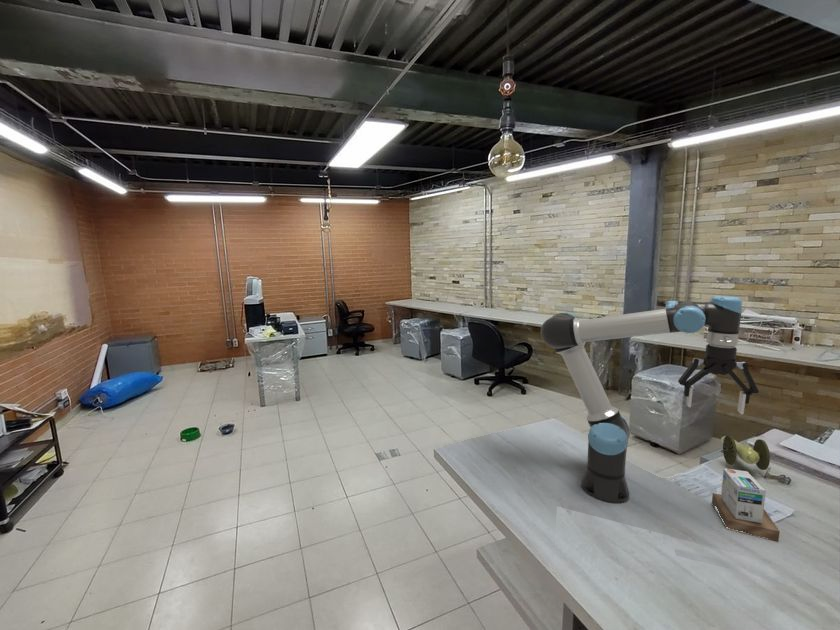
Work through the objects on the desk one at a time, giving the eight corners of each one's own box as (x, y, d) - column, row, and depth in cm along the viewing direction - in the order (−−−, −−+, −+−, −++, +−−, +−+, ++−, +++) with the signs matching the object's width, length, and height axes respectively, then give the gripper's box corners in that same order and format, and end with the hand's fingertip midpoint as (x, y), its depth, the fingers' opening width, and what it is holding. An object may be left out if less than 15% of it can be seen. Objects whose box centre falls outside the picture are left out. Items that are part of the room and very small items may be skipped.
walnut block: (725, 535, 111) (727, 520, 110) (711, 506, 124) (712, 493, 123) (777, 547, 106) (779, 531, 105) (757, 516, 119) (759, 502, 118)
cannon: (709, 442, 166) (711, 418, 164) (742, 446, 162) (745, 422, 160) (732, 471, 143) (735, 444, 141) (771, 477, 139) (774, 449, 137)
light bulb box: (763, 524, 108) (767, 490, 107) (735, 519, 110) (738, 486, 109) (744, 501, 118) (748, 470, 117) (719, 498, 120) (722, 467, 119)
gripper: (676, 344, 118) (670, 407, 122) (778, 351, 108) (768, 420, 111) (672, 339, 125) (666, 399, 128) (767, 346, 115) (758, 411, 118)
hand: (713, 409), depth 120 cm, fingers open, 13 cm apart
